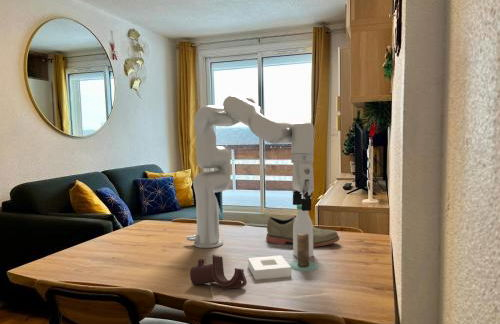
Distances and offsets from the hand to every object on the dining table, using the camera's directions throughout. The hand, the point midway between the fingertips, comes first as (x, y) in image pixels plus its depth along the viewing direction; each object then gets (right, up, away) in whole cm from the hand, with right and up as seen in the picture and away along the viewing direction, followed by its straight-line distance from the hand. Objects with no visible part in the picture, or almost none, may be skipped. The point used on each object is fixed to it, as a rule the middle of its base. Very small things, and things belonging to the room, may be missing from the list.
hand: (301, 207), depth 123 cm
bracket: (-27, -23, -13) cm, 38 cm away
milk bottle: (+3, -21, +13) cm, 25 cm away
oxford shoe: (+5, -20, +30) cm, 36 cm away
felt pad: (+1, -21, +1) cm, 21 cm away
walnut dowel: (+1, -21, +1) cm, 21 cm away
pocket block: (-12, -22, -3) cm, 25 cm away
